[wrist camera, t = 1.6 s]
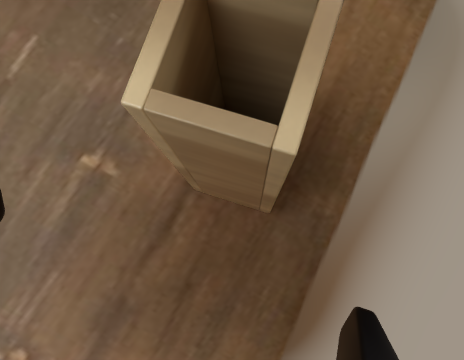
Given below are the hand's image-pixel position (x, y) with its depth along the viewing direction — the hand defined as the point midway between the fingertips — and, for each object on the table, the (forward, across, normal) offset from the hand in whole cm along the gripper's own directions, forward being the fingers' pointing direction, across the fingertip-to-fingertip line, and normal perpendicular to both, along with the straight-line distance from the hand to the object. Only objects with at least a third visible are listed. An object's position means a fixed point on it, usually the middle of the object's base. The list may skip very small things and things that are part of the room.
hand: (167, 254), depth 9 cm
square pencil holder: (+12, 0, +4) cm, 13 cm away
